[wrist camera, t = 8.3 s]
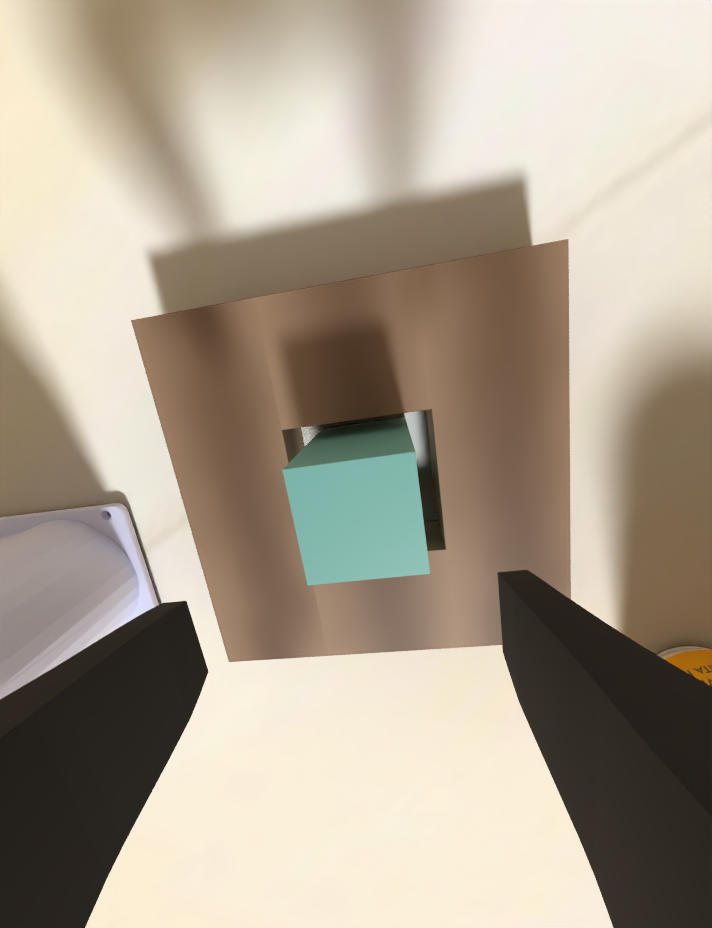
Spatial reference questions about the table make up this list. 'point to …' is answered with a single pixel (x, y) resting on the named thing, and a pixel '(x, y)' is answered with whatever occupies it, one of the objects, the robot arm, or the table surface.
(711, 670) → the beer can
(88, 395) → the table surface
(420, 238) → the table surface
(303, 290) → the holder block
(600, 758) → the robot arm
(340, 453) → the teal peg
